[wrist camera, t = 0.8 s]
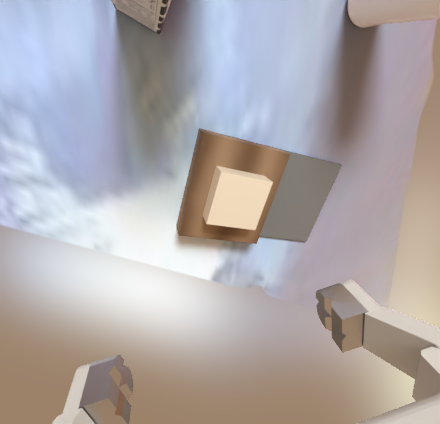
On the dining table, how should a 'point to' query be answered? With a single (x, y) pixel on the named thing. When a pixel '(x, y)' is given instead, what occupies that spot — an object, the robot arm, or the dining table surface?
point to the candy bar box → (145, 11)
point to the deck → (203, 174)
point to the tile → (236, 198)
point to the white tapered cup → (391, 11)
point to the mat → (299, 197)
